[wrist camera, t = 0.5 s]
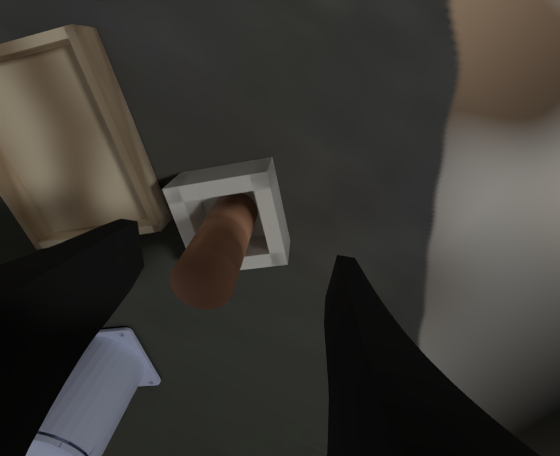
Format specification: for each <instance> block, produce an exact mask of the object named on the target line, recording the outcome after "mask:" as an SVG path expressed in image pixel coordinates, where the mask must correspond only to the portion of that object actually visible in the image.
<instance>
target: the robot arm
mask: <svg viewBox="0 0 560 456" xmlns="http://www.w3.org/2000/svg"><path fill="white" fill-rule="evenodd" d="M143 267H144V262H143V255H142V248H141V241H140V235H139V228H138V221H133V220H127V219H118V220H115V221H112V222H110V223H107V224H105V225H102V226H100V227H97V228H95V229H92V230H90V231H88V232H85V233H83V234H81V235H78V236H76V237H73V238H71V239H69V240H66V241H64V242H61V243H59V244H56V245H54V246H51V247H49V248H46V249H43V250H41V251H38V252H36V253H33V254H30V255H28V256H25V257H22V258H20V259H17V260H14V261H11V262H8V263H5V264H2V265H0V456H102V454H103V452H104V450H105V448H106V447H107V445H108V443H109V441H110V439H111V437H112V435H113V433H114V431H115V429H116V427H117V425H118V423H119V422H120V420H121V418H122V416H123V414H124V412H125V410H126V408H127V406H128V404H129V402H130V400H131V398H132V397H133V395H134V393H135V391H136V389H137V387H138V386H152V385H159V384H160V382H161V379H160V377H159V375H158V374H157V372H156V370H155V369H154V367H153V365H152V363H151V362H150V360H149V358H148V357H147V355H146V353H145V351H144V350H143V348H142V346H141V345H140V343H139V341H138V339H137V338H136V336H135V334H134V333H133V331H132V330H131V329H130V328H127V327H125V328H114V329H103V330H101V328H102V327H103V326H104V324H105V323H106V322H107V321H108V319H109V318H110V317H111V315H112V314H113V313H114V311H115V310H116V309H117V307H118V306H119V305H120V303H121V302H122V301H123V299H124V298H125V297H126V295H127V294H128V293H129V291H130V290H131V288H132V287H133V285H134V283H135V282H136V280H137V278H138V276H139V274H140V272H141V271H142V269H143ZM324 328H325V343H326V357H327V371H328V385H329V417H328V451H327V456H540V455H538V454H537V453H536V452H535V451H533V450H532V449H531V448H530V447H528V446H527V445H526V444H524V443H523V442H522V441H520V440H519V439H518V438H517V437H515V436H514V435H513V434H512V433H510V432H509V431H508V430H506V429H505V428H504V427H503V426H501V425H500V424H499V423H498V422H496V421H495V420H494V419H493V418H491V416H489V415H488V414H487V413H486V412H485V411H483V410H482V409H481V408H480V407H479V406H478V405H477V404H475V403H474V402H473V401H472V400H471V399H469V397H467V396H466V395H465V394H464V393H463V392H462V391H461V390H460V389H458V387H457V386H455V385H454V384H453V383H452V382H451V381H450V380H449V379H448V378H447V377H446V376H445V375H444V374H443V373H442V372H441V371H440V370H439V369H438V368H437V367H436V366H435V365H434V364H433V363H432V362H431V361H430V360H429V359H428V358H427V357H426V356H425V355H424V354H423V352H422V351H421V350H420V349H419V348H418V347H417V346H416V345H415V343H414V342H413V341H412V340H411V339H410V338H409V337H408V335H407V334H406V333H405V332H404V331H403V329H402V328H401V327H400V326H399V324H398V323H397V322H396V320H395V319H394V318H393V316H392V315H391V314H390V312H389V311H388V310H387V308H386V307H385V305H384V304H383V302H382V301H381V299H380V298H379V296H378V295H377V293H376V292H375V290H374V289H373V287H372V286H371V284H370V282H369V281H368V279H367V277H366V276H365V274H364V272H363V271H362V269H361V267H360V266H359V264H358V262H357V261H356V259H355V258H352V257H346V256H340V255H337V258H336V261H335V265H334V269H333V272H332V276H331V279H330V283H329V287H328V290H327V294H326V297H325V316H324Z"/></svg>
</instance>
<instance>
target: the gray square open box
mask: <svg viewBox="0 0 560 456" xmlns="http://www.w3.org/2000/svg"><path fill="white" fill-rule="evenodd" d="M162 190H163V193H164V195H165V198H166V200H167V203H168V205H169V208H170V210H171V213H172V215H173V218H174V220H175V223H176V225H177V228H178V230H179V233H180V235H181V238H182V240H183V243H184V245H185V248H187V246H188V245H189V243H190V241H191V240H192V238H193V237H194V235H195V234H196V232H197V231H198V229H199V228H200V226H201V224H202V223H203V221H204V220H205V218H206V217H207V215H208V214H209V212H210V210H211V209H212V207H213V206H214V204H215V203H216V201H217V200H218V198H219V197H220V196H224V195H231V194H237V193H244V194H246V195H248V196H249V197H250V198H251V199H252V200H253V201H254V203H255V204H256V207H257V211H258V214H257V219H256V222H255V225H254V228H253V231H252V234H251V238H250V241H249V244H248V247H247V250H246V253H245V256H244V259H243V262H242V265H241V269H240V270H245V269H254V268H262V267H271V266H280V265H288V257H289V246H290V238H289V233H288V229H287V224H286V219H285V215H284V210H283V205H282V200H281V196H280V191H279V186H278V181H277V177H276V172H275V167H274V163H273V158H272V157H268V158H262V159H256V160H251V161H245V162H239V163H233V164H228V165H222V166H216V167H211V168H205V169H199V170H194V171H188V172H182V173H180V174H178V175H177V176H176V177H175V178H174V179H173V180H172V181H171V182H170V183H168V184H167V185H166V186H165V187H164V188H163V189H162Z"/></svg>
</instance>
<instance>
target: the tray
mask: <svg viewBox="0 0 560 456" xmlns="http://www.w3.org/2000/svg"><path fill="white" fill-rule="evenodd" d="M0 196H1V197H2V199H3V200H4V202H5V203H6V205H7V206H8V208H9V209H10V211H11V212H12V214H13V215H14V217H15V218H16V220H17V221H18V223H19V224H20V226H21V227H22V229H23V230H24V232H25V233H26V235H27V236H28V238H29V239H30V241H31V242H32V244H33V245H34V247H35V248H36V249H42V248H49V247H51V246H54V245H56V244H59V243H61V242H64V241H66V240H69V239H71V238H73V237H76V236H78V235H81V234H83V233H85V232H88V231H90V230H92V229H95V228H97V227H100V226H102V225H105V224H107V223H110V222H112V221H115V220H118V219H127V220H133V221H138V228H139V235H140V234H147V233H154V232H161V231H162V230H163V229H164V228H165V227H166V225H167V224H168V223H169V222H170V221H171V219H172V215H171V213H170V210H169V208H168V205H167V203H166V200H165V198H164V195H163V193H162V190H161V188H160V185H159V183H158V180H157V178H156V175H155V173H154V170H153V168H152V165H151V163H150V160H149V158H148V156H147V153H146V151H145V148H144V146H143V143H142V141H141V138H140V136H139V133H138V131H137V128H136V126H135V123H134V121H133V118H132V116H131V113H130V111H129V108H128V106H127V103H126V101H125V98H124V96H123V93H122V91H121V89H120V86H119V84H118V81H117V79H116V76H115V74H114V71H113V69H112V66H111V64H110V61H109V59H108V56H107V54H106V51H105V49H104V46H103V44H102V41H101V39H100V36H99V34H98V31H97V29H96V28H94V27H88V26H81V25H74V24H71V25H67V26H63V27H60V28H56V29H53V30H49V31H45V32H42V33H38V34H35V35H31V36H27V37H24V38H20V39H17V40H13V41H9V42H6V43H2V44H0Z"/></svg>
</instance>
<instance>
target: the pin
mask: <svg viewBox="0 0 560 456" xmlns="http://www.w3.org/2000/svg"><path fill="white" fill-rule="evenodd" d="M257 214H258V211H257V207H256V204H255V203H254V201H253V200H252V199H251V198H250V197H249V196H248V195H246V194H244V193H237V194H231V195H224V196H220V197H219V198H218V200H217V201H216V203H215V204H214V206H213V207H212V209H211V210H210V212H209V214H208V215H207V217H206V218H205V220H204V221H203V223H202V224H201V226H200V228H199V229H198V231H197V232H196V234H195V235H194V237H193V238H192V240H191V241H190V243H189V245H188V246H187V248H186V249H185V251H184V252H183V254H182V255H181V257H180V259H179V260H178V262H177V263H176V265H175V266H174V268H173V269H172V271H171V274H170V286H171V289H172V290H173V292H174V294H175V295H176V296H177V297H178V298H179V299H180V300H181V301H182V302H184V303H185V304H187V305H189V306H191V307H194V308H198V309H204V310H211V309H216V308H219V307H222V306H223V305H225V304H226V303H227V302H228V301H229V300H230V298H231V296H232V293H233V290H234V287H235V284H236V281H237V278H238V275H239V272H240V269H241V265H242V262H243V259H244V256H245V253H246V250H247V247H248V244H249V241H250V238H251V234H252V231H253V228H254V225H255V222H256V219H257Z"/></svg>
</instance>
